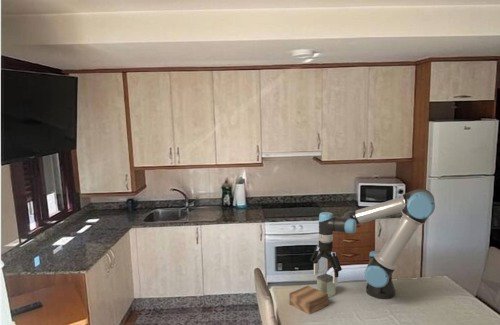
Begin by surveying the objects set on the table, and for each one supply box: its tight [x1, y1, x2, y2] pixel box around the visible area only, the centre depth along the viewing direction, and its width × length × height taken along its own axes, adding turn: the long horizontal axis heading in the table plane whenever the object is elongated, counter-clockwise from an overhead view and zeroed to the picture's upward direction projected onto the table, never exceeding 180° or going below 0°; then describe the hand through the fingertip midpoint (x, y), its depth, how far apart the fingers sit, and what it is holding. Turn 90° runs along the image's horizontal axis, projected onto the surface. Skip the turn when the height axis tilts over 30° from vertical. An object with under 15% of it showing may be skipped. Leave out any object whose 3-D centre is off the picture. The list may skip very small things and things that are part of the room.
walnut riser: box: [289, 285, 329, 315], centre depth 194 cm, size 14×14×6 cm
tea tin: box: [316, 273, 336, 299], centre depth 205 cm, size 7×7×10 cm
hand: (325, 278), depth 205 cm, fingers open, 13 cm apart
